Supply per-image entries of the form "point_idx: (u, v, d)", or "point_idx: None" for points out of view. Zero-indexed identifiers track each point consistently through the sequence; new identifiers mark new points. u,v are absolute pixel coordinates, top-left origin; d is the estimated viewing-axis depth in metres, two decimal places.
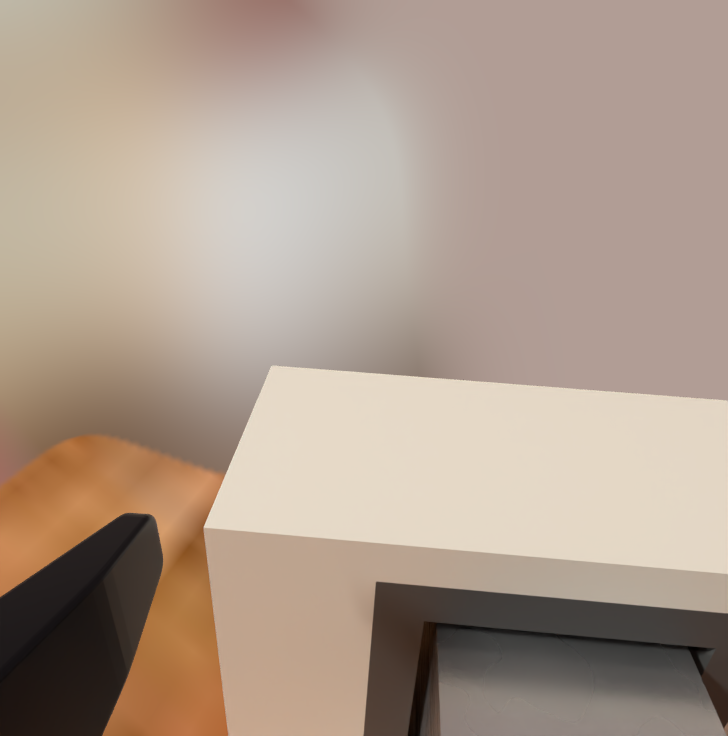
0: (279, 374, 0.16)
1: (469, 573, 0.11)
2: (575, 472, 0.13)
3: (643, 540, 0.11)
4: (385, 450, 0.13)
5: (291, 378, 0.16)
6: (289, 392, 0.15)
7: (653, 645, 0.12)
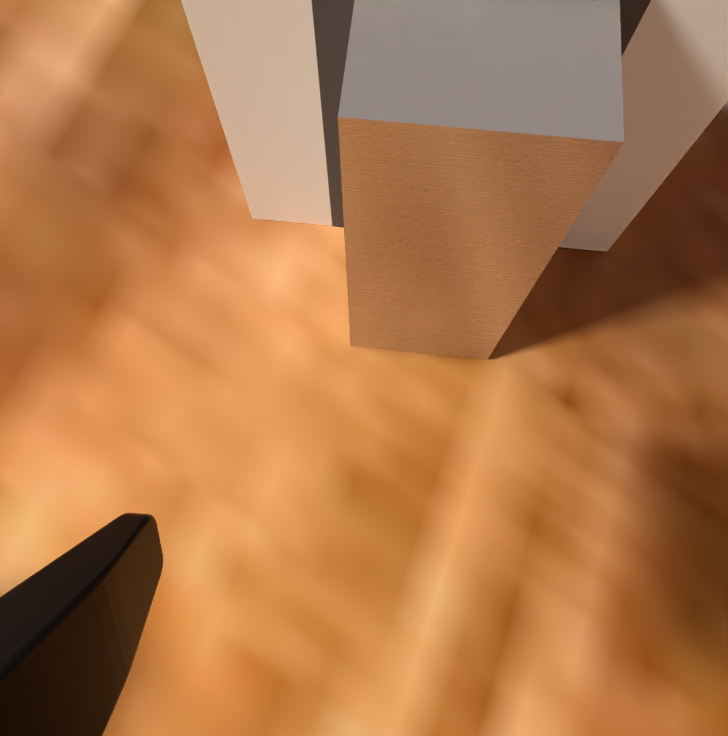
0: None
1: None
2: None
3: None
4: None
5: None
6: None
7: None
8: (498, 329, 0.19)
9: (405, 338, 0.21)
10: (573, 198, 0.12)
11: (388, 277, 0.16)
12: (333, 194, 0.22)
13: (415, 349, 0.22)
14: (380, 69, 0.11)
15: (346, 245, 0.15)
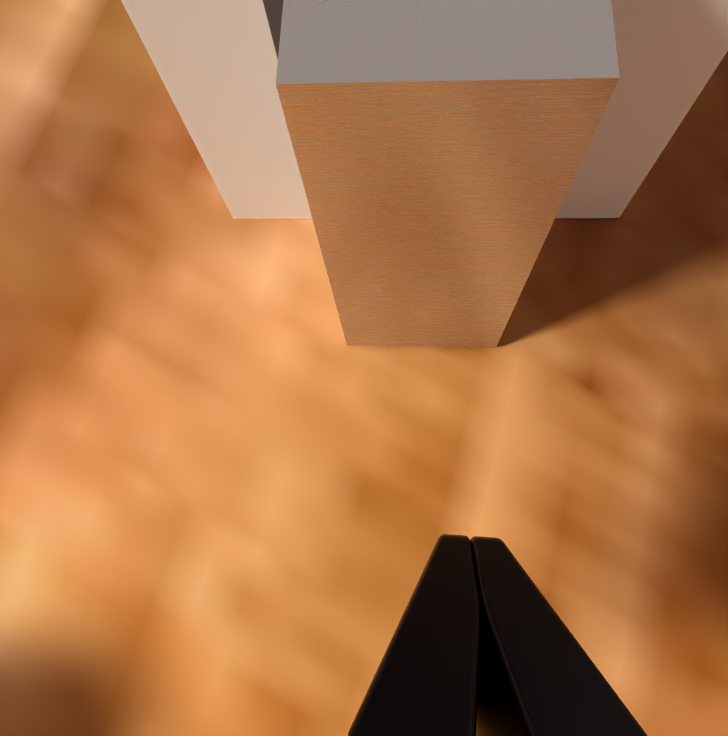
0: None
1: None
2: None
3: None
4: None
5: None
6: None
7: None
8: (503, 314, 0.17)
9: (403, 332, 0.19)
10: (567, 154, 0.10)
11: (372, 268, 0.15)
12: None
13: (416, 343, 0.20)
14: (323, 23, 0.09)
15: (318, 236, 0.13)
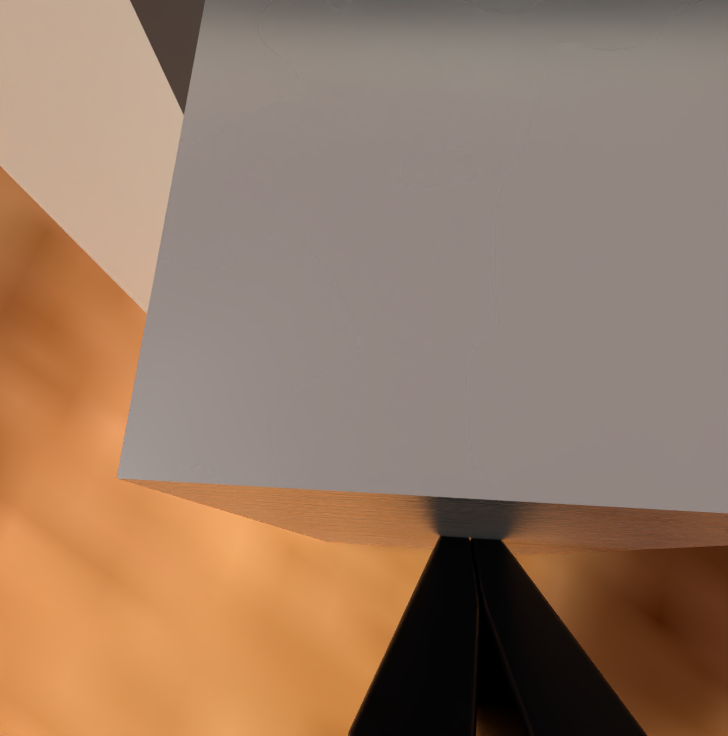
0: None
1: None
2: None
3: None
4: None
5: None
6: None
7: None
8: (553, 552, 0.12)
9: (406, 545, 0.13)
10: None
11: (363, 535, 0.09)
12: None
13: (423, 547, 0.14)
14: (250, 307, 0.04)
15: None
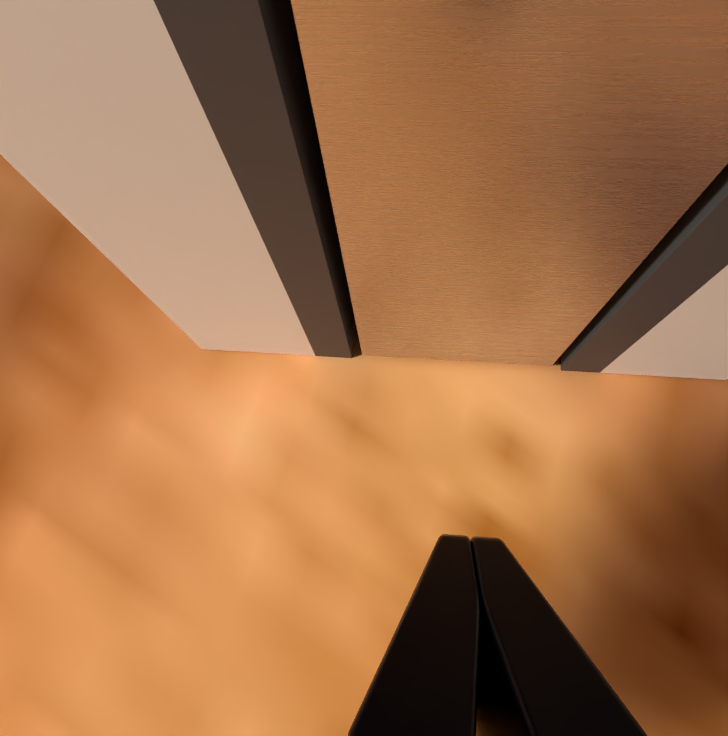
0: None
1: None
2: None
3: None
4: None
5: None
6: None
7: None
8: (574, 327, 0.13)
9: (437, 343, 0.15)
10: None
11: (408, 258, 0.10)
12: (309, 329, 0.14)
13: (451, 356, 0.16)
14: None
15: (334, 207, 0.09)
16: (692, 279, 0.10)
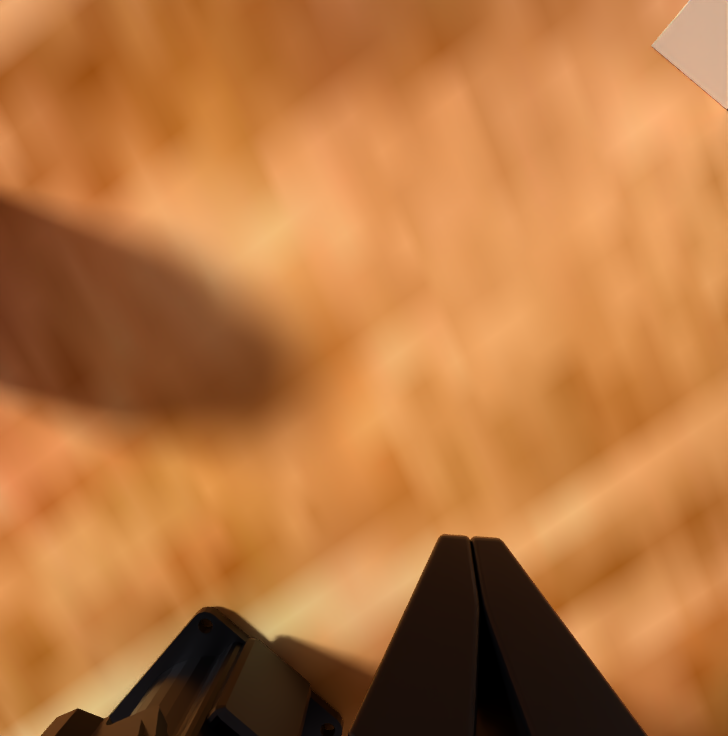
0: None
1: None
2: None
3: None
4: None
5: None
6: None
7: None
8: None
9: None
10: None
11: None
12: None
13: None
14: None
15: None
16: None
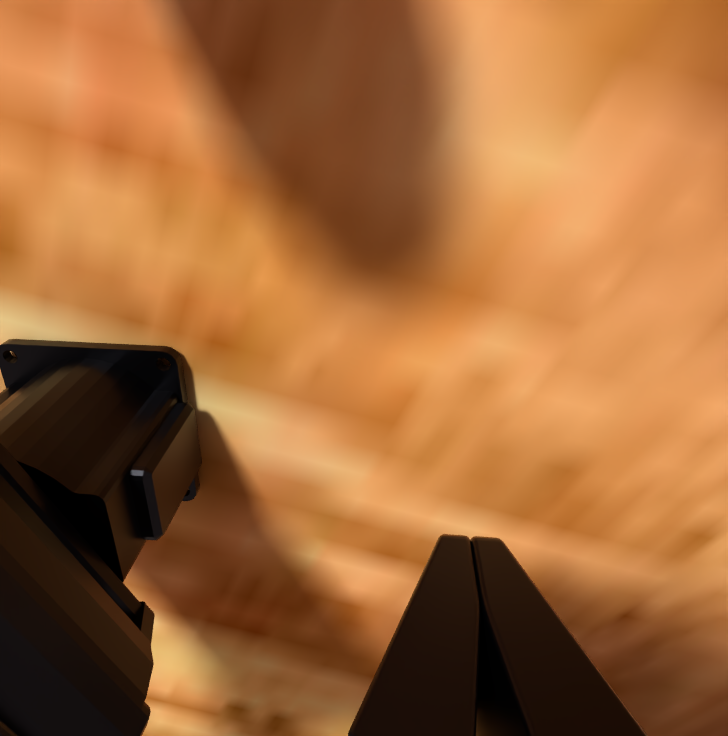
0: None
1: None
2: None
3: None
4: None
5: None
6: None
7: None
8: None
9: None
10: None
11: None
12: None
13: None
14: None
15: None
16: None
